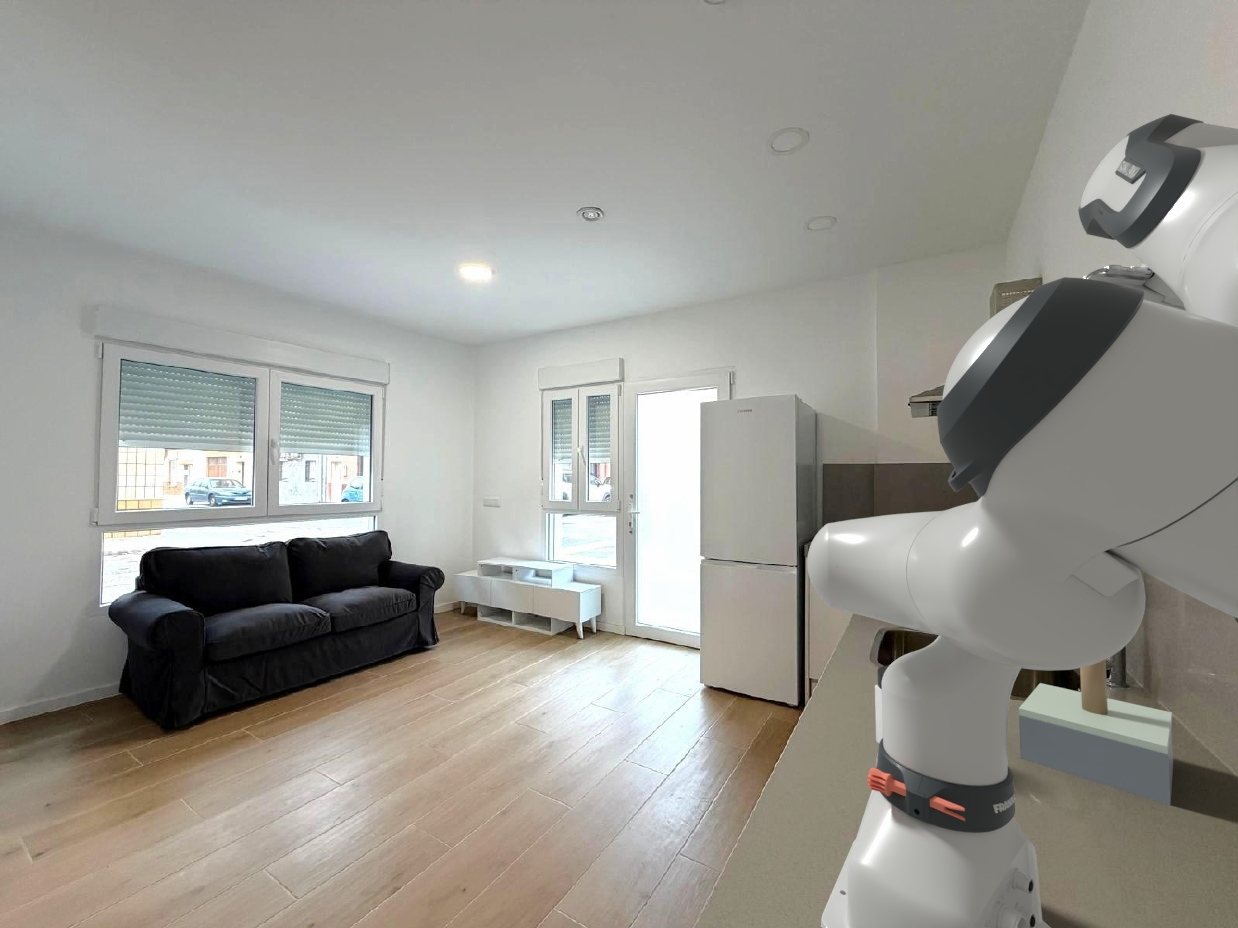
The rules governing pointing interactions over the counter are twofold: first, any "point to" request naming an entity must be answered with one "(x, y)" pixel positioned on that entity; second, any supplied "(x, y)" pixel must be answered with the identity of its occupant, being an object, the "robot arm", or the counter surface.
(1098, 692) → the lid
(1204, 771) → the counter surface
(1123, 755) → the box
